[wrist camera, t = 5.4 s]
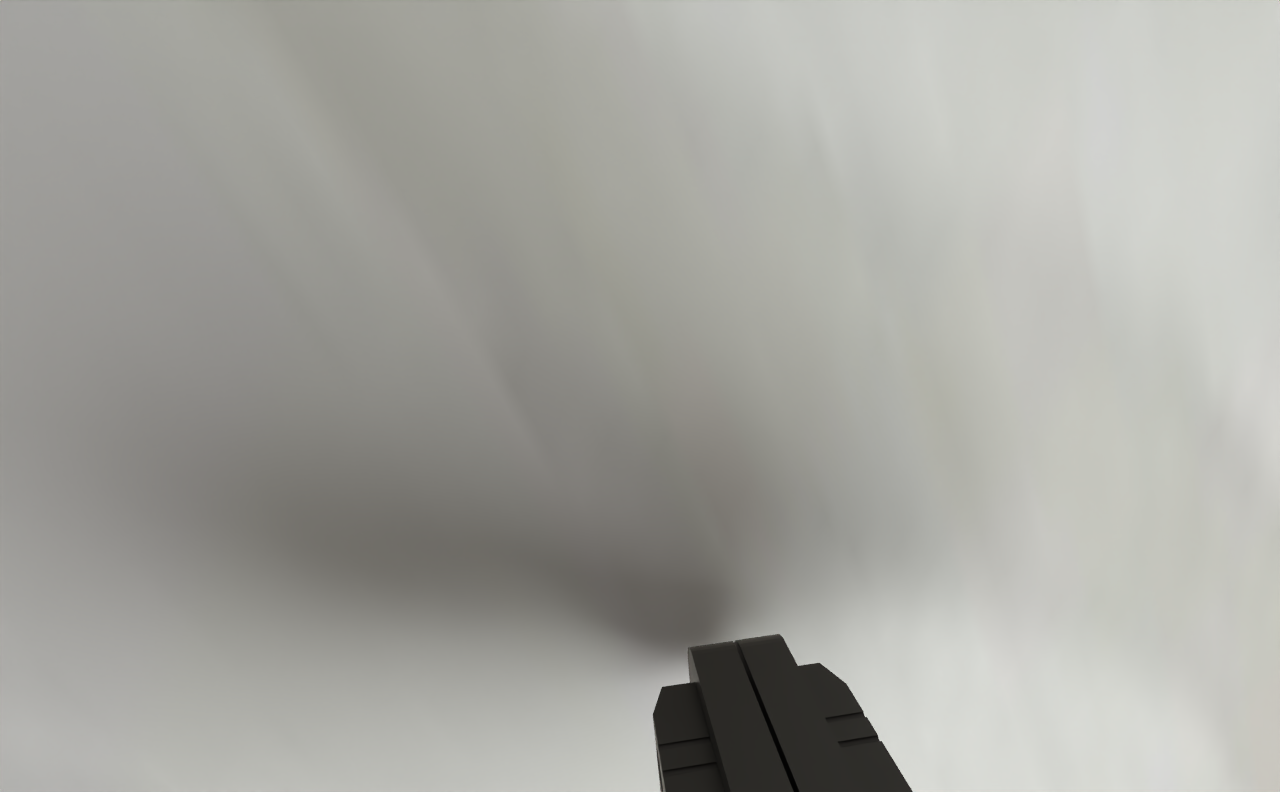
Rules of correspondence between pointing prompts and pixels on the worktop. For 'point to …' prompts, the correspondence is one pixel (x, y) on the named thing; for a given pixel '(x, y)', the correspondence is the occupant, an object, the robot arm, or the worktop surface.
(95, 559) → the worktop surface
